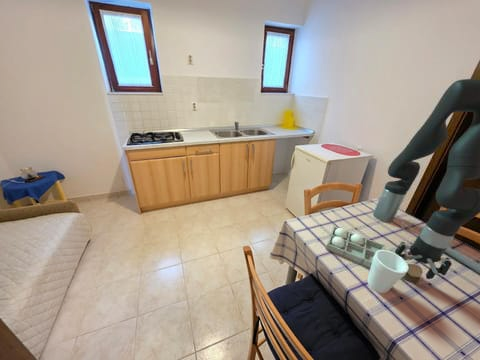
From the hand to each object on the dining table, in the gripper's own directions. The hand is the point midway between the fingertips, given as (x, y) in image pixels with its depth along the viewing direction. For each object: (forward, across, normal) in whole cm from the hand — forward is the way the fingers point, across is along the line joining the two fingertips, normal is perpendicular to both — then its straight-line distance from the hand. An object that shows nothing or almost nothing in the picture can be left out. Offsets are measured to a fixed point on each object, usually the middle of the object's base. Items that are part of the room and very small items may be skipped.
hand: (412, 271), depth 74 cm
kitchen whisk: (+3, -13, -26) cm, 29 cm away
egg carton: (+3, +19, -3) cm, 20 cm away
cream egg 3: (0, +19, -6) cm, 20 cm away
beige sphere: (-1, 0, 0) cm, 1 cm away
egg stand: (+3, 0, 0) cm, 3 cm away
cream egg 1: (0, +26, -6) cm, 27 cm away
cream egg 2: (0, +26, +1) cm, 26 cm away
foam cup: (+3, +10, +11) cm, 15 cm away
